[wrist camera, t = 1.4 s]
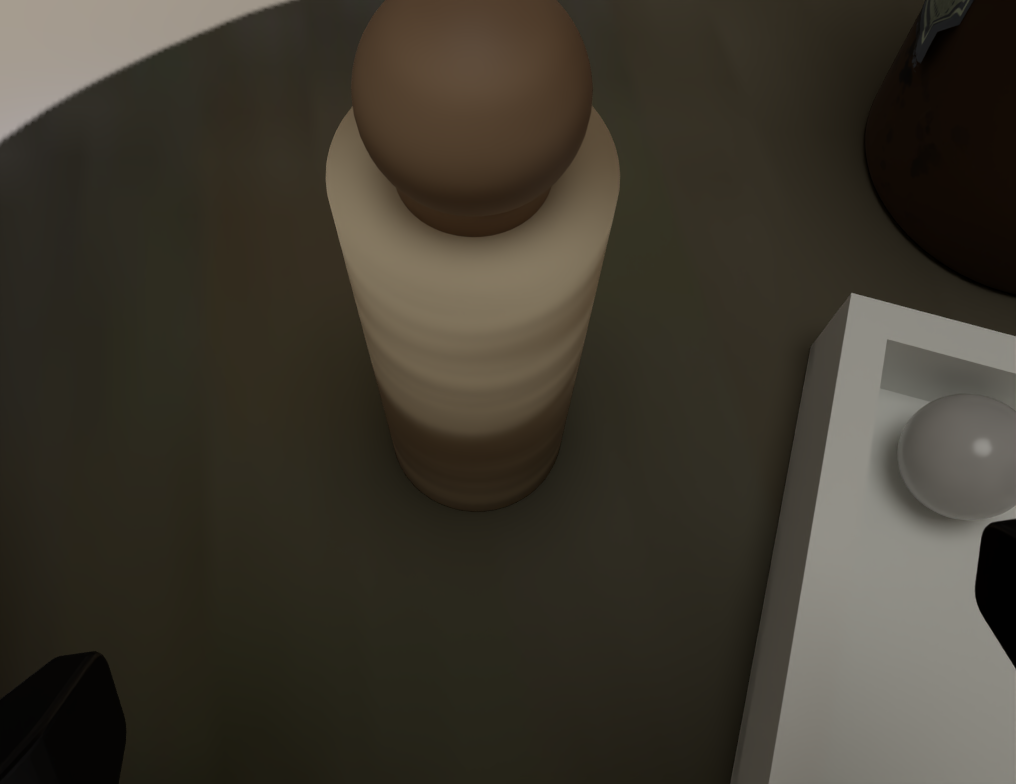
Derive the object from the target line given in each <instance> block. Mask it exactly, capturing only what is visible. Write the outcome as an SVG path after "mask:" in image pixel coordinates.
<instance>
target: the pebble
mask: <svg viewBox="0 0 1016 784" xmlns="http://www.w3.org/2000/svg"><path fill="white" fill-rule="evenodd" d="M897 461H898V466H899V471H900V474H901V477H902V479H903V481H904V483H905V485H906V487H907V488H908V490H909V491H910V492H911V494H912V495H913V496H914V497H915V498H916V499H917V500H918V501H919V502H920V503H922V504H923V505H924V506H925V507H927V508H929V509H930V510H932V511H934V512H936V513H938V514H940V515H943V516H946V517H948V518H953V519H958V520H968V521H971V520H982V519H988V518H992V517H995V516H998V515H1000V514H1003V513H1005V512H1007V511H1008V510H1010V509H1011V508H1013V507H1014V506H1016V411H1015V410H1014V409H1013V408H1011V407H1010V406H1008V405H1006V404H1005V403H1003V402H1001V401H999V400H996V399H994V398H991V397H988V396H984V395H980V394H970V393H960V394H953V395H947V396H944V397H941V398H938V399H936V400H934V401H931V402H929V403H928V404H926V405H925V406H923V407H922V408H920V409H919V410H918V411H917V412H916V413H915V414H914V415H913V416H912V417H911V418H910V420H909V421H908V422H907V424H906V425H905V427H904V429H903V431H902V433H901V436H900V439H899V443H898V448H897Z"/></svg>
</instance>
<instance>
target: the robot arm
mask: <svg viewBox="0 0 1016 784" xmlns="http://www.w3.org/2000/svg"><path fill="white" fill-rule="evenodd" d="M975 598H976V602H977V606H978V608H979V611H980V612H981V614H982V616H983V618H984V619H985V621H986V623H987V624H988V626H989V627H990V629H991V630H992V632H993V634H994V635H995V637H996V638H997V640H998V642H999V643H1000V645H1001V646H1002V648H1003V650H1004V651H1005V653H1006V654H1007V656H1008V658H1009V659H1010V661H1011V662H1012V664H1013V666H1014V667H1015V669H1016V518H1015V519H1009V520H1002V521H995V522H991V523H990V524H988V525H987V526H986V527H985V529H984V530H983V532H982V536H981V542H980V550H979V558H978V565H977V573H976V580H975ZM125 744H126V722H125V717H124V713H123V710H122V707H121V704H120V700H119V697H118V694H117V691H116V688H115V684H114V681H113V678H112V675H111V672H110V668H109V665H108V663H107V661H106V659H105V658H104V656H103V655H102V654H100V653H98V652H96V651H92V652H85V653H78V654H71V655H64V656H59V657H56V658H54V659H52V660H51V661H50V662H48V663H47V664H46V665H44V666H43V667H42V668H41V669H39V670H38V671H37V672H35V673H34V674H33V675H31V676H30V677H29V678H28V679H26V680H25V681H24V682H22V683H21V684H20V685H18V686H17V687H16V688H14V689H13V690H12V691H11V692H9V693H8V694H7V695H5V696H4V697H3V698H1V699H0V784H119V778H120V772H121V767H122V761H123V755H124V750H125Z"/></svg>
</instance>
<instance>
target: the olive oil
mask: <svg viewBox="0 0 1016 784" xmlns="http://www.w3.org/2000/svg"><path fill="white" fill-rule="evenodd" d="M922 7H923V8H922V10H921V11H920V13H919V15H918V17H917V19H916V21H915V23H914V25H913V27H912V28H911V30H910V32H909V34H908V36H907V38H906V40H905V42H904V43H903V45H902V47H901V49H900V51H899V53H898V55H897V57H896V59H895V60H894V62H893V64H892V66H891V68H890V70H889V72H888V74H887V75H886V77H885V79H884V81H883V83H882V85H881V87H880V89H879V91H878V93H877V95H876V97H875V100H874V102H873V104H872V107H871V110H870V113H869V116H868V120H867V125H866V132H865V151H866V159H867V164H868V168H869V172H870V175H871V178H872V181H873V183H874V186H875V188H876V190H877V192H878V194H879V196H880V198H881V200H882V202H883V203H884V205H885V207H886V208H887V210H888V211H889V213H890V214H891V216H892V217H893V218H894V220H895V221H896V222H897V223H898V225H899V226H900V227H901V228H902V229H903V230H904V231H905V232H906V233H907V235H908V236H909V237H910V238H911V239H912V240H914V241H915V242H916V243H917V244H918V245H919V246H920V247H921V248H922V249H924V250H925V251H926V252H927V253H929V254H930V255H931V256H933V257H934V258H935V259H937V260H938V261H940V262H941V263H943V264H944V265H946V266H947V267H949V268H951V269H952V270H954V271H956V272H958V273H959V274H961V275H963V276H965V277H967V278H969V279H972V280H974V281H976V282H978V283H981V284H983V285H986V286H989V287H991V288H994V289H997V290H1001V291H1004V292H1008V293H1011V294H1016V0H925V2H924V4H923V6H922Z"/></svg>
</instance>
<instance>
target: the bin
mask: <svg viewBox="0 0 1016 784" xmlns="http://www.w3.org/2000/svg"><path fill="white" fill-rule="evenodd" d="M960 393H970V394H980V395H984V396H988V397H991V398H994V399H996V400H999V401H1001V402H1003V403H1005V404H1006V405H1008V406H1010V407H1011V408H1013V409H1014V410H1015V411H1016V336H1012V335H1008V334H1004V333H1001V332H997V331H993V330H989V329H986V328H982V327H978V326H974V325H970V324H967V323H963V322H959V321H955V320H952V319H948V318H944V317H940V316H937V315H933V314H929V313H925V312H921V311H918V310H914V309H910V308H906V307H903V306H899V305H895V304H891V303H888V302H884V301H880V300H876V299H872V298H869V297H865V296H861V295H857V294H854V293H851V294H850V295H849V297H848V298H847V299H846V301H845V302H844V303H843V305H842V306H841V307H840V309H839V310H838V311H837V313H836V314H835V315H834V317H833V318H832V319H831V321H830V322H829V323H828V325H827V326H826V327H825V329H824V330H823V331H822V332H821V334H820V335H819V336H818V338H817V339H816V340H815V342H814V343H813V344H812V346H811V347H810V353H809V358H808V364H807V369H806V374H805V380H804V385H803V391H802V396H801V402H800V407H799V412H798V418H797V423H796V429H795V434H794V440H793V445H792V450H791V456H790V461H789V467H788V472H787V478H786V483H785V488H784V494H783V499H782V505H781V510H780V516H779V521H778V527H777V532H776V537H775V543H774V548H773V554H772V559H771V565H770V570H769V575H768V581H767V586H766V592H765V597H764V603H763V608H762V613H761V619H760V624H759V630H758V635H757V641H756V646H755V651H754V657H753V662H752V668H751V673H750V679H749V684H748V689H747V695H746V700H745V706H744V711H743V717H742V722H741V728H740V733H739V738H738V744H737V749H736V755H735V760H734V766H733V771H732V776H731V782H730V784H1016V669H1015V667H1014V666H1013V664H1012V662H1011V661H1010V659H1009V658H1008V656H1007V654H1006V653H1005V651H1004V650H1003V648H1002V646H1001V645H1000V643H999V642H998V640H997V638H996V637H995V635H994V634H993V632H992V630H991V629H990V627H989V626H988V624H987V623H986V621H985V619H984V618H983V616H982V614H981V612H980V611H979V608H978V606H977V602H976V598H975V580H976V573H977V565H978V558H979V550H980V542H981V536H982V532H983V530H984V529H985V527H986V526H987V525H988V524H990V523H991V522H995V521H1002V520H1009V519H1015V518H1016V506H1014V507H1013V508H1011V509H1010V510H1008V511H1007V512H1005V513H1003V514H1000V515H998V516H995V517H992V518H988V519H982V520H971V521H968V520H958V519H953V518H948V517H946V516H943V515H940V514H938V513H936V512H934V511H932V510H930V509H929V508H927V507H925V506H924V505H923V504H922V503H920V502H919V501H918V500H917V499H916V498H915V497H914V496H913V495H912V494H911V492H910V491H909V490H908V488H907V487H906V485H905V483H904V481H903V479H902V477H901V474H900V471H899V466H898V461H897V448H898V443H899V439H900V436H901V433H902V431H903V429H904V427H905V425H906V424H907V422H908V421H909V420H910V418H911V417H912V416H913V415H914V414H915V413H916V412H917V411H918V410H919V409H920V408H922V407H923V406H925V405H926V404H928V403H929V402H931V401H934V400H936V399H938V398H941V397H944V396H947V395H953V394H960Z"/></svg>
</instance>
